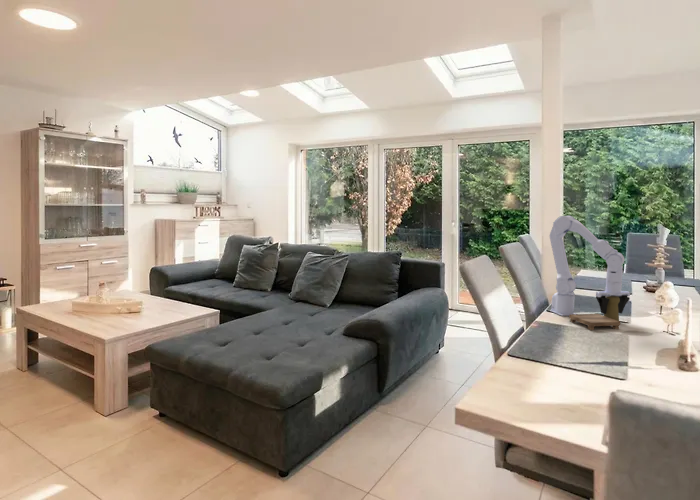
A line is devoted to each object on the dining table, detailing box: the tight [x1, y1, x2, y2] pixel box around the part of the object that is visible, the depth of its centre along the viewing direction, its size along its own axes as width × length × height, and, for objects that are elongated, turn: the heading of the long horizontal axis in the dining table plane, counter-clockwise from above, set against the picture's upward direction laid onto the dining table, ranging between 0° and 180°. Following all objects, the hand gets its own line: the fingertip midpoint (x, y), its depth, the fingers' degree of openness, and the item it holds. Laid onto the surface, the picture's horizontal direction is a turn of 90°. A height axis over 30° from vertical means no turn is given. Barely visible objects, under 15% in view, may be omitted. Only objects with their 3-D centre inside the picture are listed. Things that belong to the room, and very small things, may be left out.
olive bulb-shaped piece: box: [603, 296, 620, 321], centre depth 189 cm, size 6×6×11 cm
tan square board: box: [569, 313, 621, 331], centre depth 183 cm, size 13×13×3 cm
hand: (611, 313), depth 190 cm, fingers open, 7 cm apart
